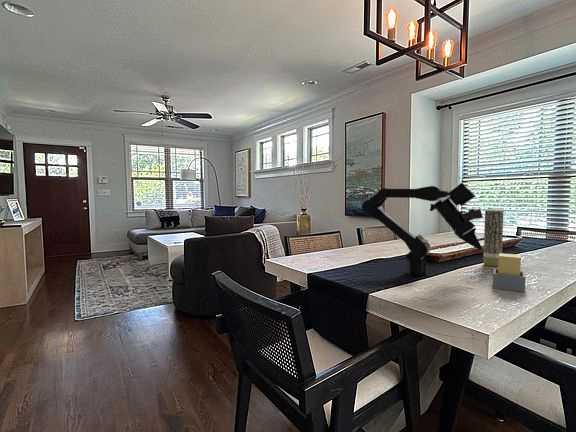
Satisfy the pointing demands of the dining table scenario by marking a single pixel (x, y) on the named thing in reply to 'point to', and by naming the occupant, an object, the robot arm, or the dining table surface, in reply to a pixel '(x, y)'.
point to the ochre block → (509, 264)
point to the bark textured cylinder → (493, 236)
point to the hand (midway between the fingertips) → (479, 248)
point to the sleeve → (509, 281)
